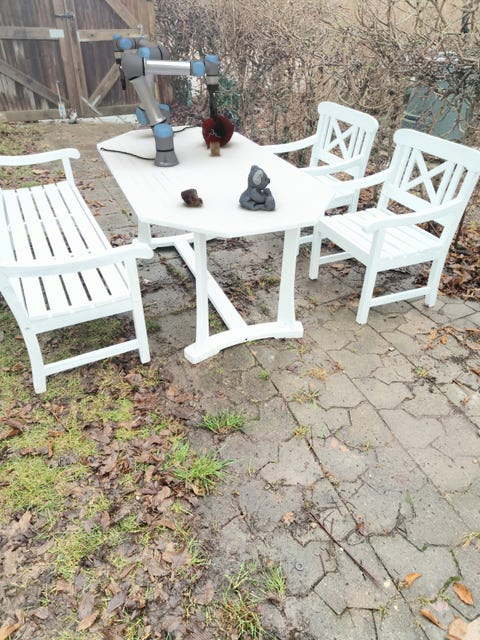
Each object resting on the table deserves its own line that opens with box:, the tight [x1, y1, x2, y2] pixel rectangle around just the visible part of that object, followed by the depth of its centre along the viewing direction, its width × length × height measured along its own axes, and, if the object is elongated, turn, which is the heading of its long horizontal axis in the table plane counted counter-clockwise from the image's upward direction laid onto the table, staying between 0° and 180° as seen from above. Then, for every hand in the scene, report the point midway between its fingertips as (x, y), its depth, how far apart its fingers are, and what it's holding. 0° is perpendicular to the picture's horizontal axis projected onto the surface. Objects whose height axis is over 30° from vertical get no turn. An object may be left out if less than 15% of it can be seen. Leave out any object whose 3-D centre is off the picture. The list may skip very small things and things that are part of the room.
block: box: [209, 142, 221, 157], centre depth 309 cm, size 6×5×8 cm
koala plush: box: [238, 164, 276, 211], centre depth 224 cm, size 17×18×20 cm
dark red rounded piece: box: [200, 114, 235, 150], centre depth 329 cm, size 21×24×25 cm
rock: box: [180, 188, 204, 207], centre depth 229 cm, size 12×9×10 cm
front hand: (213, 119), depth 298 cm, fingers open, 13 cm apart
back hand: (124, 88), depth 359 cm, fingers open, 13 cm apart
